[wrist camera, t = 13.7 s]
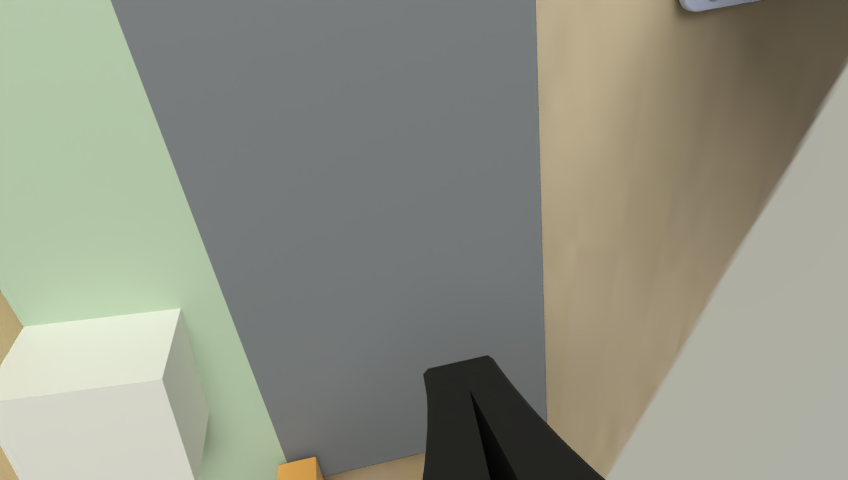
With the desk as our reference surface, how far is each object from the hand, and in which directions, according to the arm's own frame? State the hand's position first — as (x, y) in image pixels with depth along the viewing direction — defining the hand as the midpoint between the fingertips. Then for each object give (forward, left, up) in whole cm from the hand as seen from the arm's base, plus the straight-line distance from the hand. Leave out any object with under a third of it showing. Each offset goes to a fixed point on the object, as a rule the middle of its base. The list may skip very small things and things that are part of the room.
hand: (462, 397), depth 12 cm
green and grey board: (+4, +2, -10) cm, 11 cm away
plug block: (+11, +5, -9) cm, 15 cm away
